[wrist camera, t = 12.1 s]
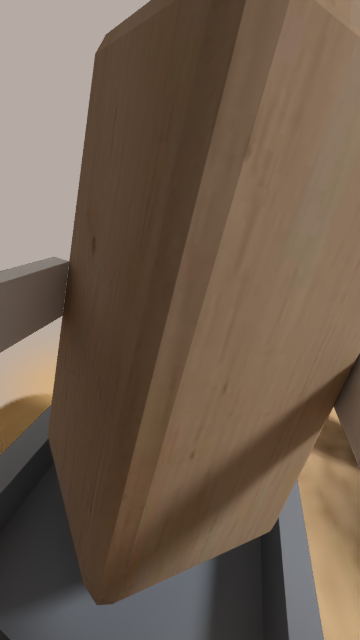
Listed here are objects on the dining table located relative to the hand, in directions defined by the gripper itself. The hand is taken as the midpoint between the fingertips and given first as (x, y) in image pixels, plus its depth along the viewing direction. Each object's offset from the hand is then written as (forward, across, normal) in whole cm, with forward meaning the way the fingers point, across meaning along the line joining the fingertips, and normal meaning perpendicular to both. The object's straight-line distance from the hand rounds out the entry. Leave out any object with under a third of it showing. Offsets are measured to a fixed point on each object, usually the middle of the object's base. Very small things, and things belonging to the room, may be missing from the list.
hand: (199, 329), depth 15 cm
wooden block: (0, 0, -10) cm, 10 cm away
